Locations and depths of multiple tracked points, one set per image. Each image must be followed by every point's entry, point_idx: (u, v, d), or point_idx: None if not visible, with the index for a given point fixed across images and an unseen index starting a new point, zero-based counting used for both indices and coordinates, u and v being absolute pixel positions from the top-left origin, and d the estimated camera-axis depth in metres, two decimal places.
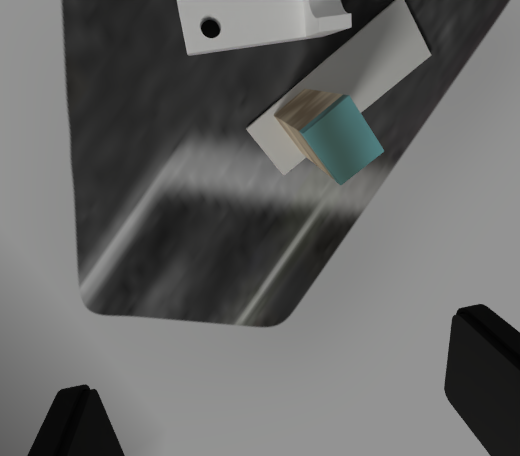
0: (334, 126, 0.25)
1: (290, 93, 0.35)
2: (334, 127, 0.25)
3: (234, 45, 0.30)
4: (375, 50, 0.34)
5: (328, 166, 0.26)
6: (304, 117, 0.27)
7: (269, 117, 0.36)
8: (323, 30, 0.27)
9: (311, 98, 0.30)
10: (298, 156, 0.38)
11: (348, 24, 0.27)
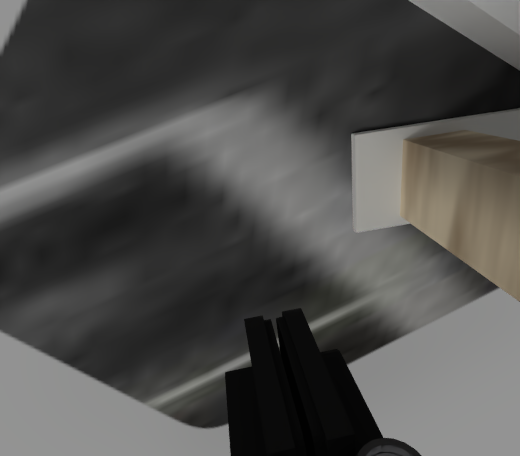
0: None
1: (444, 124, 0.21)
2: None
3: None
4: None
5: None
6: None
7: (396, 138, 0.21)
8: None
9: None
10: (393, 218, 0.23)
11: None
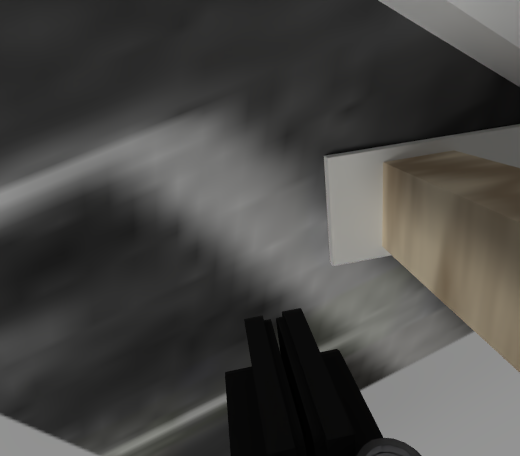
0: None
1: (430, 144, 0.19)
2: None
3: None
4: None
5: None
6: None
7: (375, 161, 0.18)
8: None
9: (517, 177, 0.14)
10: (374, 249, 0.21)
11: None
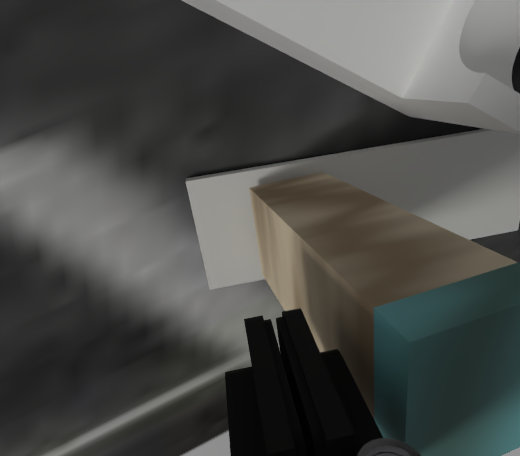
0: (488, 352, 0.08)
1: (295, 166, 0.18)
2: (487, 355, 0.08)
3: (268, 23, 0.13)
4: (455, 178, 0.20)
5: None
6: (368, 256, 0.10)
7: (238, 184, 0.18)
8: (476, 105, 0.11)
9: (361, 205, 0.13)
10: (252, 272, 0.20)
11: None
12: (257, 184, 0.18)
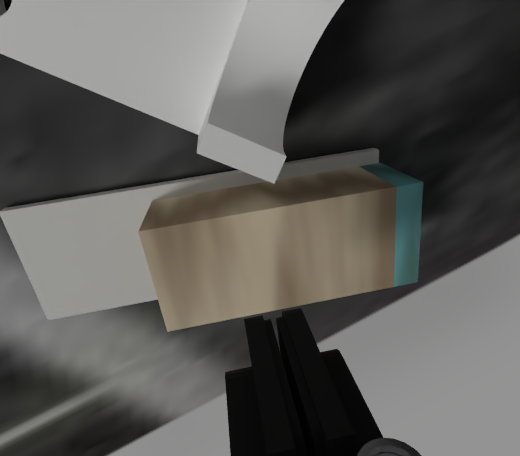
0: None
1: (119, 195, 0.17)
2: None
3: (29, 61, 0.12)
4: None
5: (418, 247, 0.16)
6: (340, 187, 0.16)
7: (58, 214, 0.17)
8: (208, 155, 0.11)
9: (258, 188, 0.17)
10: (92, 302, 0.19)
11: (270, 174, 0.11)
12: (79, 214, 0.17)
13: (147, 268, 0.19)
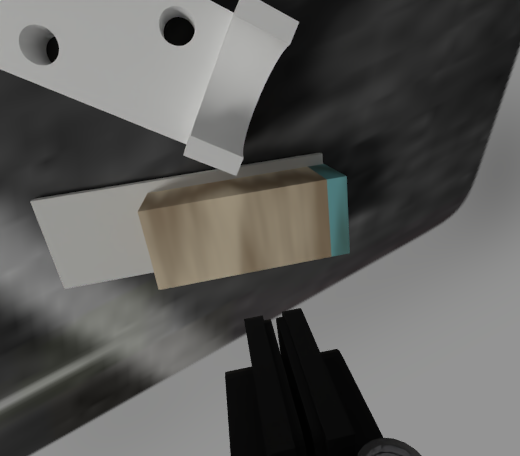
0: None
1: (122, 188, 0.23)
2: None
3: (68, 94, 0.18)
4: None
5: (347, 225, 0.22)
6: (287, 180, 0.21)
7: (75, 203, 0.22)
8: (191, 156, 0.16)
9: (228, 183, 0.23)
10: (99, 274, 0.24)
11: (233, 169, 0.17)
12: (92, 203, 0.23)
13: (143, 247, 0.24)
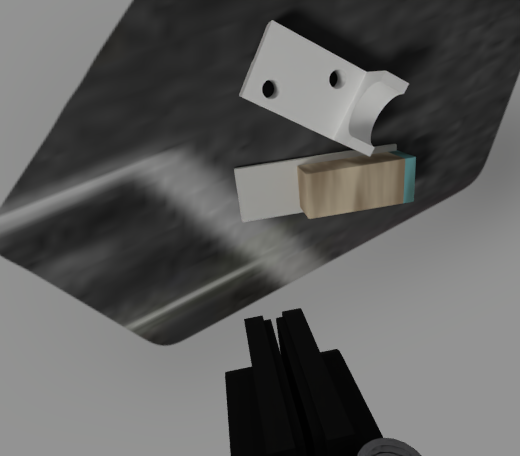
0: None
1: (283, 163, 0.40)
2: None
3: (280, 113, 0.35)
4: None
5: (413, 185, 0.39)
6: (381, 159, 0.38)
7: (257, 171, 0.39)
8: (350, 146, 0.33)
9: (344, 160, 0.39)
10: (262, 214, 0.42)
11: (369, 153, 0.34)
12: (266, 171, 0.40)
13: (289, 198, 0.41)
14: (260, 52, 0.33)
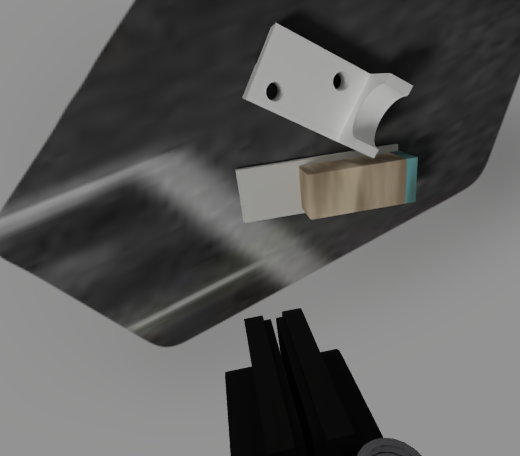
0: None
1: (285, 163, 0.40)
2: None
3: (283, 115, 0.35)
4: None
5: (415, 185, 0.39)
6: (383, 159, 0.38)
7: (259, 172, 0.39)
8: (354, 148, 0.33)
9: (346, 161, 0.39)
10: (264, 215, 0.41)
11: (373, 155, 0.34)
12: (267, 172, 0.40)
13: (291, 198, 0.41)
14: (264, 55, 0.33)
